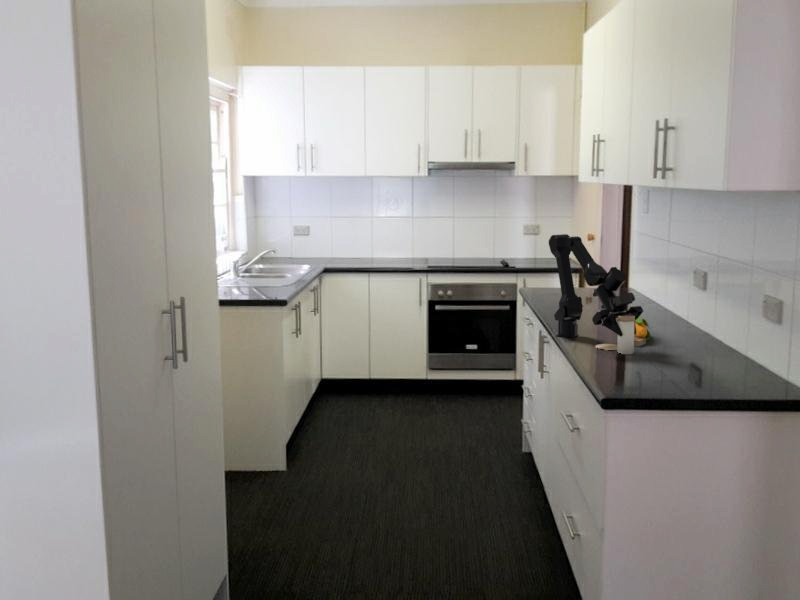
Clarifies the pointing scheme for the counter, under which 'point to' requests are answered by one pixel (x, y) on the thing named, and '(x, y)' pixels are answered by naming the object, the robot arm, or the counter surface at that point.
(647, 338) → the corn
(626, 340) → the jar
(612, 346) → the coaster
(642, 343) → the tile
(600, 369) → the counter surface
